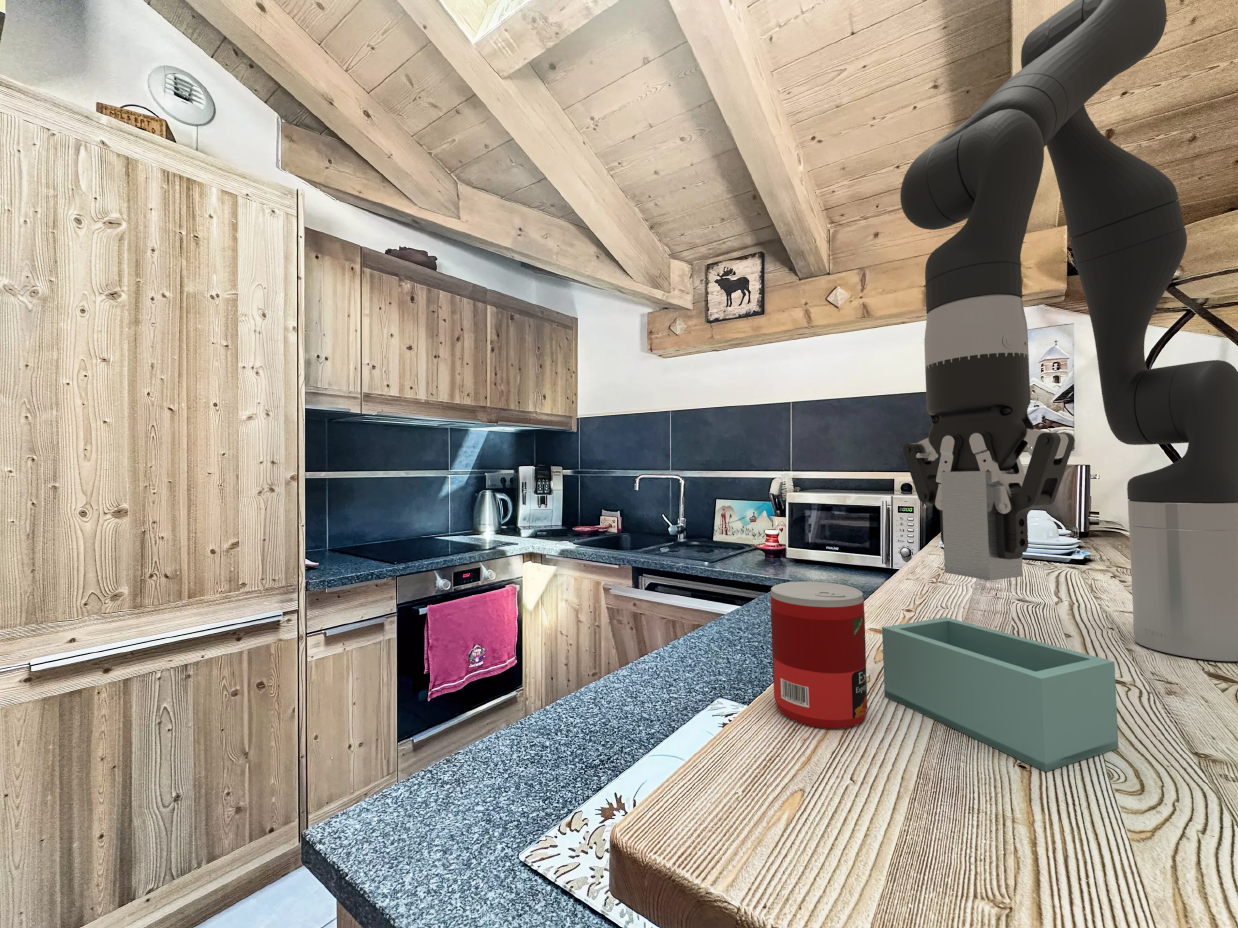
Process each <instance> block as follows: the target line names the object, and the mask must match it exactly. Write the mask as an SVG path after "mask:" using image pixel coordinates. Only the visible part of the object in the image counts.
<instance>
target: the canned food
mask: <svg viewBox="0 0 1238 928" xmlns="http://www.w3.org/2000/svg"><path fill="white" fill-rule="evenodd" d="M770 592H771V593H770V620H771V621H770V623H771V628H770V629H771V650H772V654H771V655H772V676H773V677H772V680H773V698H774V702H775V704H776V707H777V709H778V711H779V712H780V713H781V714H782V715H784V716H785V717H786V718H788V719H790V720H791V721H794V722H795V723H798V724H802V725H804V726H809V727H812V728H813V727H814V728H819V729H824V730H825V729H826V730H827V729H828V730H842V729H849V728H853V727H855V726H857V725H860V724H861V723H862V722H863V721H864V720H865V717H866V715H867V711H868V687H867V686H868V682H867V651H866V649H867V648H866V619H865V600H864V594H863V591H861V589H858V588H855V587H853V586H849V585H845V584H840V583H839V584H838V583H832V582H821V581H789V582H783V583H779V584H776V585H773V586H772V587H771V588H770Z"/></svg>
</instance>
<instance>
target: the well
mask: <svg viewBox="0 0 1238 928" xmlns="http://www.w3.org/2000/svg"><path fill="white" fill-rule="evenodd" d="M881 628H882V629H881V632H882V635H881V637H882V659H883V660H882V661H883V686H884V687H883V689H884V690H883V691H884V697H886V698H888V699H890V700H892V701H894V702H897V703H898V704H901V705H903V706H905V707H906V708H909V709H911V710H913V711H915V712H917V713H919V714H922V715H924V716H926V717H928V718H930V719H932V720H934V721H937V722H939V723H941V724H943V725H945V726H947V727H950V728H951V729H953V730H956V731H957V732H960V733H962V734H964V735H967V736H968V737H970V738H972V739H974V740H976V741H979V742H981V743H983V744H985V745H987V746H989V747H991V748H994V749H995V750H998V751H1000V752H1002V753H1004V754H1006V755H1008V756H1010V757H1012V758H1015V759H1017V760H1019V761H1021V762H1023V763H1025V764H1028V765H1029V766H1032V767H1033V768H1036V769H1038V770H1040V771H1042V772H1044V773H1047V772H1050V771H1052V770H1056V769H1058V768H1062V767H1065V766H1068V765H1071V764H1074V763H1075V764H1076V763H1077V762H1080V761H1083V760H1086V759H1089V758H1092V757H1095V756H1099V755H1101V754H1105V753H1108V752H1111V751H1114V750H1116V749H1119V734H1118V732H1119V731H1118V730H1119V729H1118V727H1119V726H1118V714H1117V713H1118V710H1117V709H1118V708H1117V706H1118V705H1117V691H1116V690H1117V689H1116V688H1117V686H1116V666H1115V661H1114V660H1110V659H1106V658H1104V657H1098V656H1096V655H1091V654H1087V653H1084V652H1079V651H1076V650H1072V649H1068V648H1064V647H1060V646H1058V645H1054V644H1049V643H1045V642H1041V641H1038V640H1034V639H1031V638H1027V637H1022V636H1019V635H1015V634H1012V633H1008V632H1004V631H1001V630H997V629H992V628H989V627H984V626H981V625H977V624H974V623H970V622H966V621H964V620H958V619H955V618H950V617H947V616H944V617H943V616H942V617H938V618H932V619H930V618H929V619H925V620H920V621H913V622H906V623H899V624H893V625H888V626H883V627H881Z"/></svg>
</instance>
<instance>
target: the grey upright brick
mask: <svg viewBox="0 0 1238 928" xmlns="http://www.w3.org/2000/svg"><path fill="white" fill-rule="evenodd" d="M1000 472H1001V473H1002V474H1004V475H1007V474H1012V472H1013V470H1012V471H1000ZM941 484H942V511H943V538H944V545H943V559H944V561H943V563H944V564H943V565H944V573H945V574H951V575H956V576H963V577H967V578H974V579H978V580H983V581H997V580H998V581H999V580H1005V579H1013V578H1021V577H1023V576H1024V574H1023V572H1024V571H1023V556H1022V557H1021V558H1019V559H1010V560H1008V559H1000V558H999V557H998V556H997V545H996V520H995V514H1000V512H998V511H997V509H996V506H995V503H994V491H993V487H992V486H991V485H990V484H989V471H963V472H941Z"/></svg>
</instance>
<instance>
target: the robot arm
mask: <svg viewBox="0 0 1238 928" xmlns="http://www.w3.org/2000/svg"><path fill="white" fill-rule="evenodd" d="M1167 15H1168V14H1167V4H1166V0H1073V1H1071V2H1070V3H1068V4H1067V5H1065V6H1064V7H1062V8H1061V9H1059V10H1058V11H1057V12H1056V13H1054V14H1052V15H1051V16H1049V18H1047V19H1046V20H1044V21H1043V22H1042V23H1040V24H1039V25H1037V26H1036V27H1035V28H1034V29H1032V30H1031V31H1030V32H1029V34H1027V36H1026V37H1025V39H1024V41H1023V44H1022V47H1021V51H1020V52H1021V53H1020V65H1021V69H1020V70H1019V71H1018V72H1016V73H1015V74H1014V75H1013V76H1011V77H1010V78H1009V79H1007V80H1006V81H1005V82H1003V84H1002V85H1001V86H999V88H997V89H996V91H994V93H993V94H991V96H989V98H988V99H986V100H985V101H984V103H982V105H981V106H980V107H978V109H977V110H976V112H974V113H973V114H972V115H971V116H969V118H968V119H966V120H965V121H964V122H962V123H961V124H959V125H958V126H957V127H955V128H954V129H952V130H950V131H949V132H948V133H946V134H945V135H944V136H942V137H941V138H940V139H939V140H937V141H936V142H934V143H933V144H932V145H930V146H929V147H928V148H927V149H925V150H924V151H923V152H922V153H921V154H920V155H918V156H917V157H916V158H915V159H914V160H913V162H912V163H911V164H910V166H909V167H908V169H907V170H906V172H905V174H904V176H903V179H902V183H901V187H900V194H899V196H900V197H899V199H900V206H901V209H902V212H903V214H904V216H905V217H906V218H907V220H909V222H910V223H912V224H913V225H914V226H916V227H917V228H920V229H924V230H932V231H935V230H943V229H945V228H948V227H952V226H954V225H956V224H958V223H961V222H963V221H965V220H966V222H965V224H964V225H963V226H962V227H961V228H960V229H959V231H957V232H956V233H955V234H954V235H952V236H951V237H950V238H949V239H947V240H946V241H945V242H943V243H942V244H941V245H939V246H937V248H935V249H934V250H933V251H932V252H931V253H930V255H929V256H928V258H927V260H926V263H925V269H924V280H925V283H924V284H925V307H926V309H925V311H926V319H925V320H926V322H925V324H926V325H925V329H924V339H923V340H924V342H923V343H924V364H925V365H924V368H925V369H924V371H925V373H924V374H925V399H926V412H927V413H928V414H929V416H930V418H931V421H932V423H931V426H930V427H931V428H929V432H928V436H927V437H926V438H924V439H922V440H920V441H917V442H912V443H906V444H905V445H903V448H902V452H903V455H904V459H905V462H906V464H907V468H908V470H909V473H910V476H911V480H912V483H913V486H914V489H915V491H916V494H917V498H918V500H919V502H921V503H928V504H931V505H933V506H934V507H936V509H937V510H938V512H939V520H940V521H939V524H940V526H939V527H940V540H941V542H942V546H944V538H943V511H942V484H941V472H963V471H989V484H990V485H991V486H992V487H993V491H994V503H995V506H996V509H997V511H998V512H1000V514H995V520H996V545H997V556H998V557H999V558H1000V559H1008V560H1010V559H1019V558H1021V557H1022V558H1023V554H1024V553H1026V552H1027V551H1028V548H1029V531H1028V530H1029V528H1028V527H1029V525H1028V514H1029V513H1030V512H1031V511H1032V510H1034V509H1037V508H1040V507H1045V506H1051V505H1053V504H1054V502H1055V501H1056V498H1057V495H1058V492H1059V489H1060V486H1061V483H1062V481H1063V477H1064V474H1065V471H1066V469H1067V465H1068V463H1069V459H1070V457H1071V454H1072V451H1073V448H1074V445H1075V441H1076V440H1075V436H1074V435H1073V434H1072V433H1070V432H1050V431H1045V430H1041V429H1037V428H1035V425H1034V423H1033V422H1032V421H1031V419H1030V416H1029V414H1028V410H1029V407H1030V404H1031V383H1030V382H1031V381H1030V362H1029V361H1030V360H1029V334H1028V322H1027V318H1026V315H1025V310H1024V304H1023V303H1024V301H1023V282H1022V281H1023V279H1022V276H1023V275H1022V261H1021V259H1022V258H1021V255H1022V248H1023V244H1024V240H1025V238H1026V237H1025V236H1026V233H1027V228H1028V224H1029V220H1030V216H1031V212H1032V209H1033V205H1034V201H1035V198H1036V196H1037V193H1038V188H1039V185H1040V181H1041V177H1042V173H1043V168H1044V160H1045V159H1044V158H1045V147H1046V148H1047V149H1046V150H1047V151H1048V155H1049V157H1050V160H1051V164H1052V166H1053V167H1052V168H1053V171H1054V174H1055V178H1056V182H1057V186H1058V190H1059V193H1060V194H1059V195H1060V198H1061V203H1062V208H1063V212H1064V218H1065V224H1066V227H1067V228H1066V229H1067V233H1068V238H1069V242H1070V245H1071V246H1070V247H1071V250H1072V255H1073V259H1074V263H1075V266H1076V271H1077V274H1078V276H1079V280H1080V284H1081V287H1082V290H1083V293H1084V297H1085V301H1086V305H1087V309H1088V314H1089V318H1090V321H1091V327H1092V332H1093V338H1094V344H1095V350H1096V358H1097V359H1096V360H1097V365H1098V374H1099V383H1100V389H1101V399H1102V402H1103V403H1102V404H1103V409H1104V413H1105V417H1106V421H1107V425H1108V426H1109V429H1110V431H1111V433H1112V434H1113V435H1114V437H1115V438H1116V439H1117V440H1118V441H1120V442H1121V443H1122V444H1125V445H1129V446H1130V445H1131V446H1145V445H1146V446H1147V445H1149V446H1150V445H1168V444H1169V445H1173V444H1174V445H1175V444H1187V448H1186V452H1185V454H1184V455H1183V456H1182V457H1181V458H1180V459H1178V460H1176V461H1174V462H1172V463H1171V464H1169V465H1167V466H1165V467H1162V468H1160V469H1159V468H1158V469H1156V470H1152V471H1150V472H1146V473H1142V474H1138V475H1136V476H1133V477H1131V478H1130V479H1129V480H1128V481H1127V487H1126V489H1127V490H1126V491H1127V510H1128V512H1127V513H1128V530H1129V531H1128V532H1129V533H1128V534H1129V550H1130V552H1129V554H1130V572H1131V573H1130V574H1131V576H1130V577H1131V592H1132V593H1131V596H1132V617H1133V618H1132V619H1133V621H1132V622H1133V638H1134V639H1133V640H1134V641H1135V643H1137V644H1139V645H1140V646H1144V647H1146V648H1148V649H1152V650H1155V651H1159V652H1162V653H1167V654H1170V655H1176V656H1181V657H1187V658H1193V659H1199V660H1207V661H1218V662H1238V370H1237V368H1236V367H1235V366H1234V365H1233V364H1231V363H1230V362H1229V361H1226V360H1220V359H1211V360H1201V361H1196V362H1189V363H1188V362H1187V363H1183V364H1182V363H1181V364H1173V365H1168V366H1162V367H1155V368H1148V367H1147V363H1146V358H1145V357H1146V356H1145V340H1146V339H1145V338H1146V333H1147V329H1148V327H1149V324H1150V321H1151V319H1152V316H1153V315H1154V312H1155V310H1156V309H1157V306H1158V305H1159V303H1160V300H1161V299H1162V297H1163V295H1164V294H1165V292H1166V291H1167V289H1168V287H1169V286H1170V284H1171V282H1172V280H1173V279H1174V276H1175V274H1176V273H1177V271H1178V268H1179V267H1180V265H1181V262H1182V261H1183V257H1184V254H1185V252H1186V249H1187V245H1188V236H1187V232H1186V231H1187V230H1186V227H1185V226H1186V225H1185V221H1184V217H1183V213H1182V208H1181V204H1180V200H1179V193H1178V191H1177V188H1176V185H1175V184H1174V182H1173V181H1172V180H1171V179H1170V178H1169V177H1168V176H1167V175H1166V174H1165V173H1163V172H1162V171H1161V170H1159V169H1158V168H1156V167H1155V166H1154V165H1151V163H1148V162H1146V161H1145V160H1144V159H1141V158H1140V157H1138V156H1136V155H1134V154H1132V153H1130V152H1128V151H1127V150H1125V149H1123V148H1121V147H1120V146H1119V145H1117V144H1115V143H1114V142H1112V141H1111V140H1110V139H1108V138H1107V137H1106V136H1105V135H1104V134H1103V133H1101V131H1099V129H1098V128H1097V127H1096V125H1095V124H1094V122H1093V120H1092V119H1091V117H1090V115H1089V113H1088V111H1087V109H1086V106H1085V104H1086V103H1087V102H1088V101H1089V100H1090V99H1091V98H1092V97H1094V96H1095V94H1097V93H1098V92H1099V91H1100V90H1101V89H1102V88H1103V87H1104V86H1107V84H1108V83H1109V82H1110V81H1112V80H1113V79H1114V78H1115V77H1117V76H1118V75H1119V74H1121V73H1124V72H1125V71H1127V70H1128V69H1130V68H1132V67H1134V66H1135V65H1136V64H1138V63H1139V62H1140V61H1141V60H1143V59H1144V58H1145V57H1147V56H1148V55H1149V54H1150V53H1152V51H1153V50H1154V49H1155V48H1156V47H1157V46H1158V44H1159V43H1160V41H1161V39H1162V37H1163V36H1164V32H1165V29H1166V25H1167ZM1027 447H1028V448H1027ZM1026 448H1027V453H1028V454H1029V455H1030V459H1029V463H1028V466H1027V468H1026V472H1025V471H1024V467H1023V465H1022V462H1021V461H1022V460H1021V458H1020V457H1021V455H1022V454H1023V453H1024V451H1025V450H1026ZM937 458H939V464H938V463H937ZM1012 470H1013V472H1012V474H1007V475H1004V474H1002V473H1001V472H1000V471H1012Z"/></svg>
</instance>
